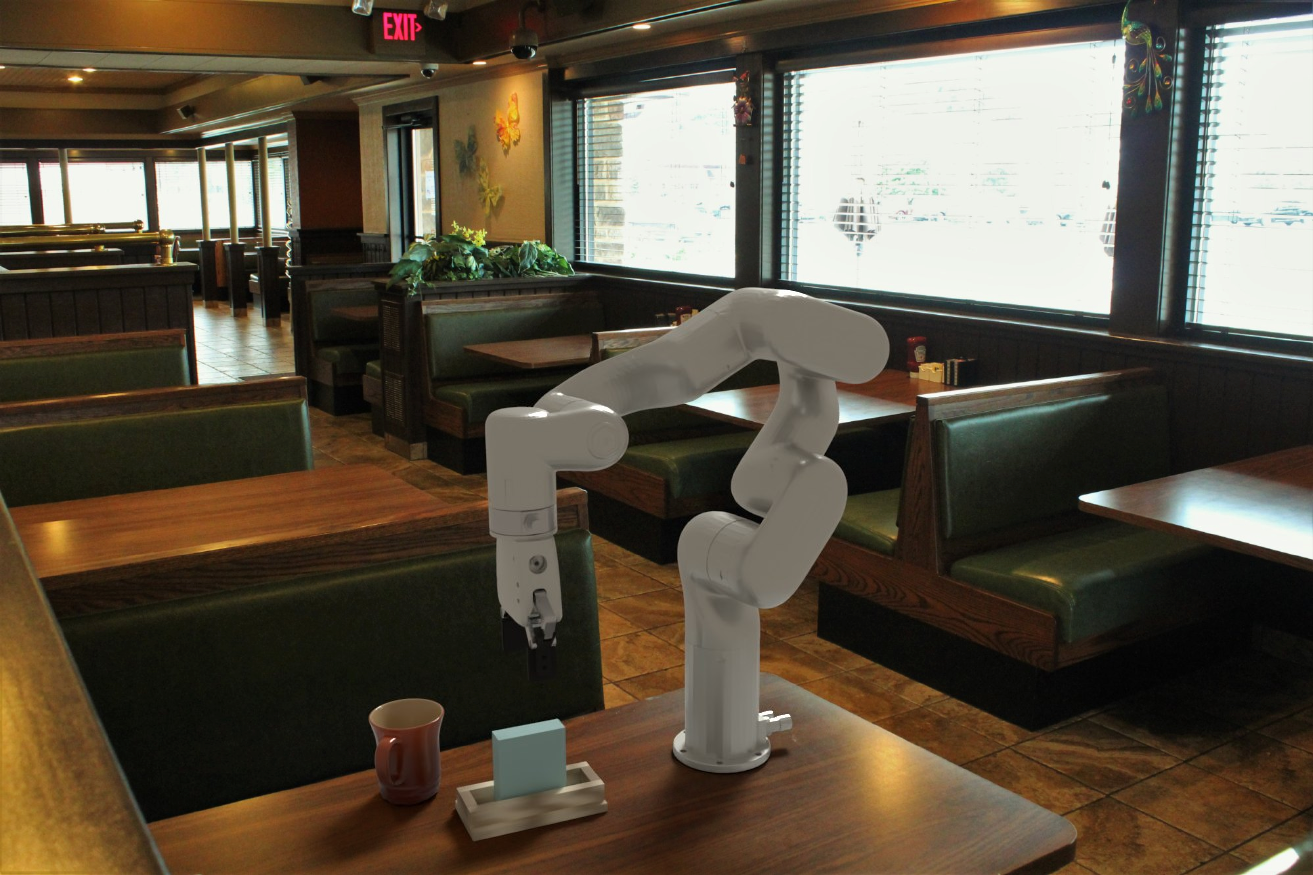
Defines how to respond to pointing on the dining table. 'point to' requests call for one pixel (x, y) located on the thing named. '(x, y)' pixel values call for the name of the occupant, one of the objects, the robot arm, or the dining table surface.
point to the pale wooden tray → (530, 804)
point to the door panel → (529, 759)
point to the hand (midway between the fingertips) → (528, 664)
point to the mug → (407, 749)
